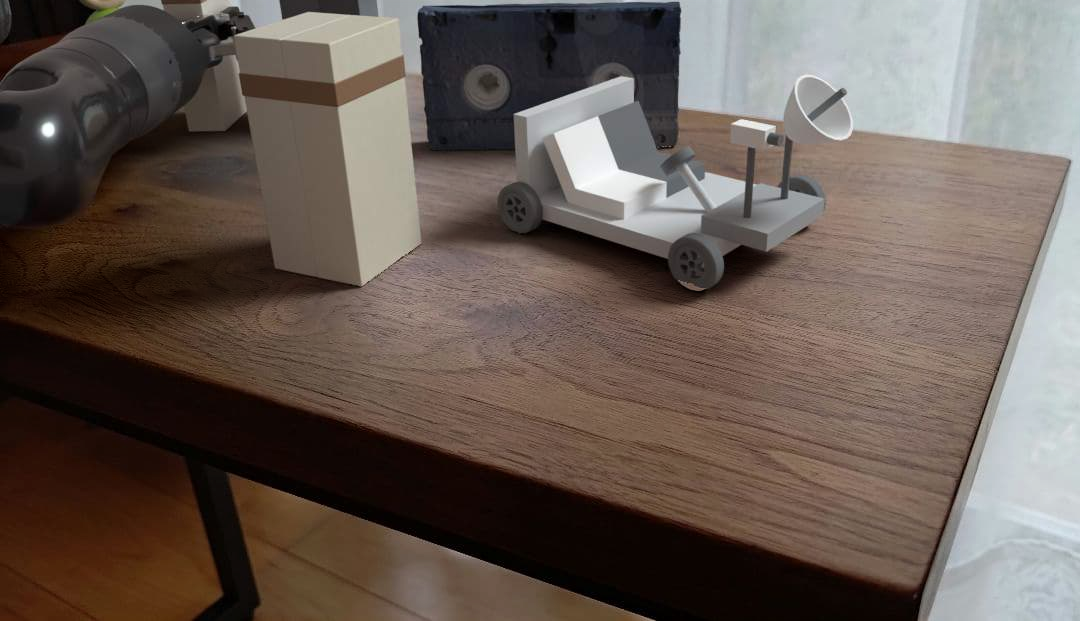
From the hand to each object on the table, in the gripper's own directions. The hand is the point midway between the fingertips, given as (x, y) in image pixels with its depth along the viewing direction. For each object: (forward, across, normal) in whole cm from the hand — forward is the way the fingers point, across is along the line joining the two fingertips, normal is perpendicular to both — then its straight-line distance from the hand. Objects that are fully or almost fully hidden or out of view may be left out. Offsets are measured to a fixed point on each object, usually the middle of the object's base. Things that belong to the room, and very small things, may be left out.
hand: (214, 20), depth 81 cm
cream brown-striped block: (-30, -17, +8) cm, 35 cm away
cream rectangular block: (-3, 0, +8) cm, 8 cm away
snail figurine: (+17, +18, +8) cm, 26 cm away
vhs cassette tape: (-10, -28, +8) cm, 31 cm away
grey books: (-3, -10, +8) cm, 13 cm away
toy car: (-27, -36, +8) cm, 46 cm away
